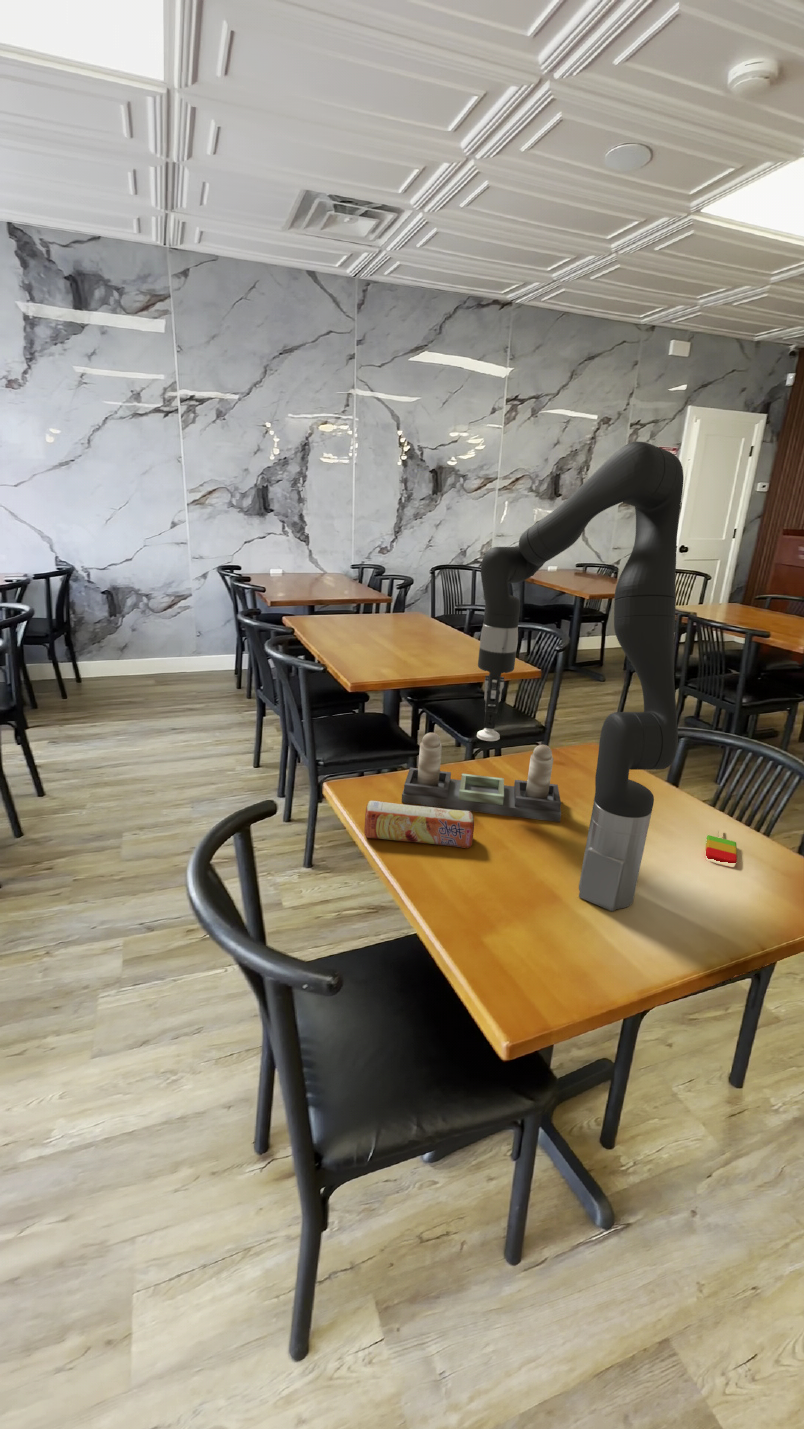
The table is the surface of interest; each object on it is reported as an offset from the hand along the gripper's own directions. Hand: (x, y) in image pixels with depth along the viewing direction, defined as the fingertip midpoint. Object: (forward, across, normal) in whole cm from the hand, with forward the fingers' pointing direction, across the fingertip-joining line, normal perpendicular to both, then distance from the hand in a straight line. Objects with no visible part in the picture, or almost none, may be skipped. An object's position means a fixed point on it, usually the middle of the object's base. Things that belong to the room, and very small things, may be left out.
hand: (489, 725), depth 139 cm
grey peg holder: (+18, 0, 0) cm, 18 cm away
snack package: (+18, -19, +12) cm, 29 cm away
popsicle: (+19, -8, -49) cm, 53 cm away
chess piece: (+3, 0, 0) cm, 3 cm away
